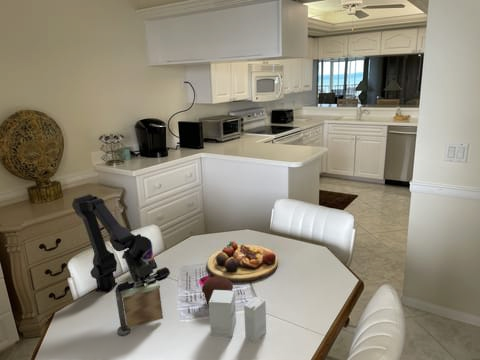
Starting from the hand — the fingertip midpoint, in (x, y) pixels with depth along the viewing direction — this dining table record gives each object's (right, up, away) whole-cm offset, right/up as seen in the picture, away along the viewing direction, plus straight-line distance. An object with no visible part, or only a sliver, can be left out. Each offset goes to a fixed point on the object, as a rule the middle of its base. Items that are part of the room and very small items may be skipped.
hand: (152, 304), depth 123 cm
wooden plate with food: (+31, +4, +38) cm, 50 cm away
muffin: (+22, -3, +11) cm, 25 cm away
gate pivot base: (-9, -8, -3) cm, 12 cm away
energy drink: (-11, +3, +39) cm, 41 cm away
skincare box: (+35, -8, -7) cm, 37 cm away
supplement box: (+25, -7, -4) cm, 26 cm away
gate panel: (-3, -6, -1) cm, 7 cm away
